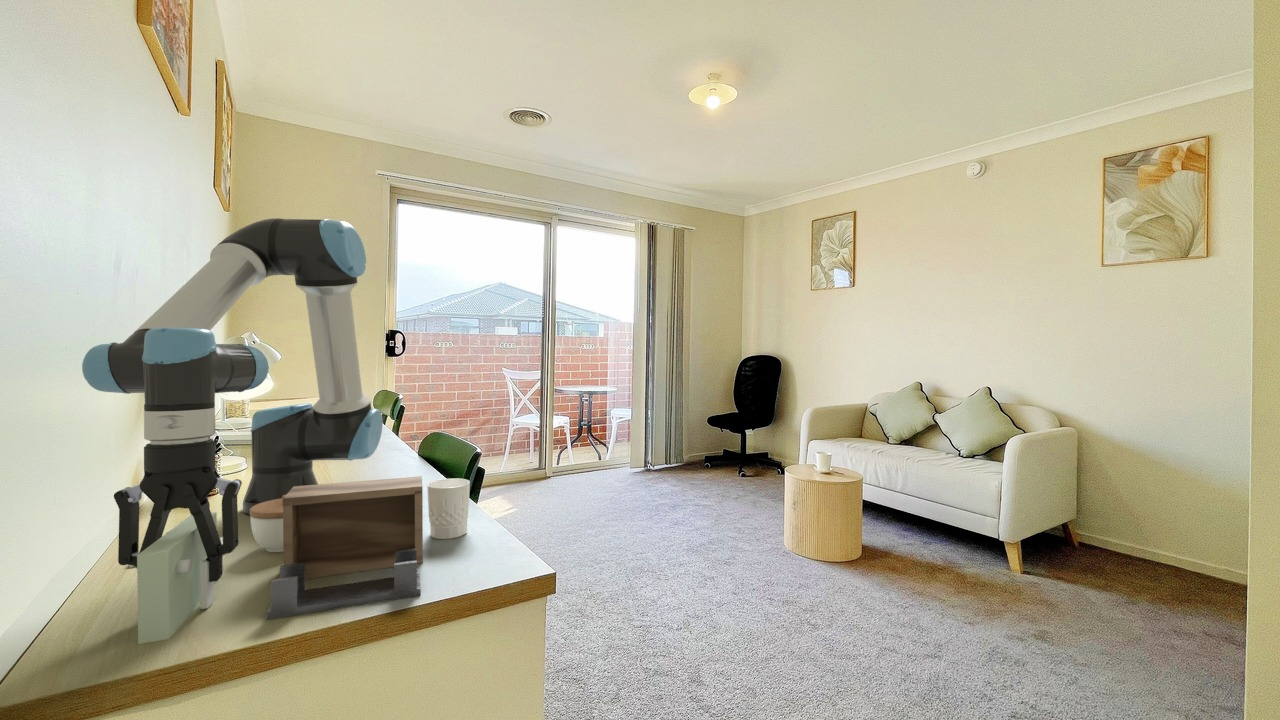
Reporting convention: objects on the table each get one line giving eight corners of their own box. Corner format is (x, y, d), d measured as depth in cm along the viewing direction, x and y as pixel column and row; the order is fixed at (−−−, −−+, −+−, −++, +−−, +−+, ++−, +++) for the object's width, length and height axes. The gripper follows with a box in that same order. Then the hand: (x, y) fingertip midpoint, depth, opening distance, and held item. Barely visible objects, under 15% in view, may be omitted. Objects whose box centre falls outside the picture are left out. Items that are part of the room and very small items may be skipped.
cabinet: (294, 563, 91) (293, 486, 91) (421, 547, 99) (421, 476, 99) (283, 582, 84) (283, 498, 84) (422, 562, 92) (422, 486, 92)
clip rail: (277, 600, 78) (276, 565, 78) (420, 579, 85) (419, 547, 85) (266, 619, 72) (266, 582, 72) (420, 595, 80) (420, 561, 79)
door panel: (193, 585, 83) (192, 514, 83) (226, 581, 84) (225, 511, 84) (138, 644, 66) (137, 555, 66) (181, 637, 68) (180, 550, 68)
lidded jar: (286, 559, 93) (285, 505, 93) (234, 554, 95) (233, 501, 95) (333, 538, 104) (333, 489, 103) (285, 534, 106) (285, 486, 106)
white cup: (420, 533, 106) (419, 483, 106) (457, 524, 112) (457, 476, 112) (439, 543, 101) (439, 490, 101) (477, 533, 107) (477, 482, 107)
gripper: (77, 448, 68) (78, 634, 68) (252, 439, 75) (253, 608, 75) (108, 440, 75) (109, 608, 75) (265, 432, 82) (266, 587, 82)
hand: (181, 608), depth 75 cm, fingers open, 5 cm apart
